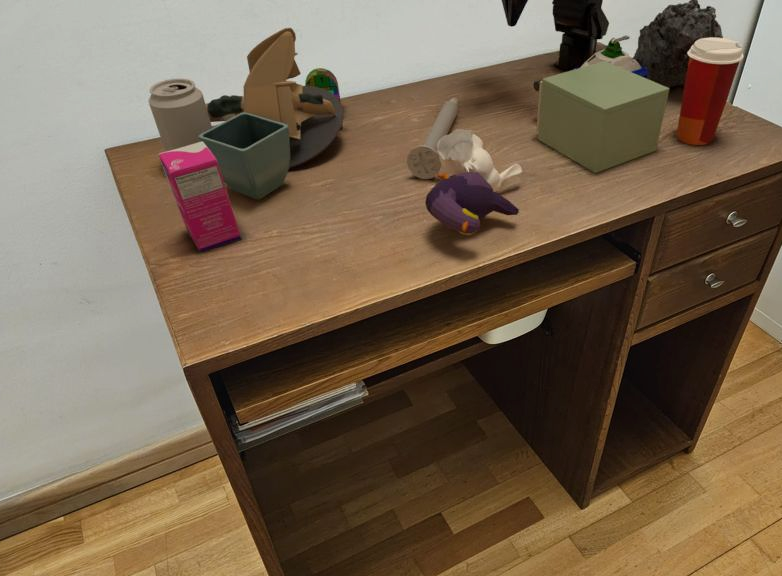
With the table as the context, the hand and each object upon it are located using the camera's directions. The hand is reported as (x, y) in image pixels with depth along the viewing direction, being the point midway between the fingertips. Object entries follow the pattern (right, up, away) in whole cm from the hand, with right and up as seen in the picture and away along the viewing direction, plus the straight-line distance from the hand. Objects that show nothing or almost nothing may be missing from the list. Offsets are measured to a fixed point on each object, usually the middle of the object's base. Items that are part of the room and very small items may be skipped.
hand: (511, 25), depth 107 cm
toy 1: (-37, -19, -6) cm, 42 cm away
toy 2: (-9, -30, -19) cm, 37 cm away
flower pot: (-38, -31, -14) cm, 51 cm away
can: (-50, -25, -8) cm, 56 cm away
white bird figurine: (-9, -26, -21) cm, 35 cm away
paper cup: (+29, -20, -4) cm, 35 cm away
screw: (-14, -19, -4) cm, 24 cm away
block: (-33, -16, +2) cm, 36 cm away
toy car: (+18, -9, +8) cm, 21 cm away
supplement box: (-41, -39, -23) cm, 61 cm away
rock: (+29, -6, +10) cm, 32 cm away
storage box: (+13, -22, -6) cm, 26 cm away
